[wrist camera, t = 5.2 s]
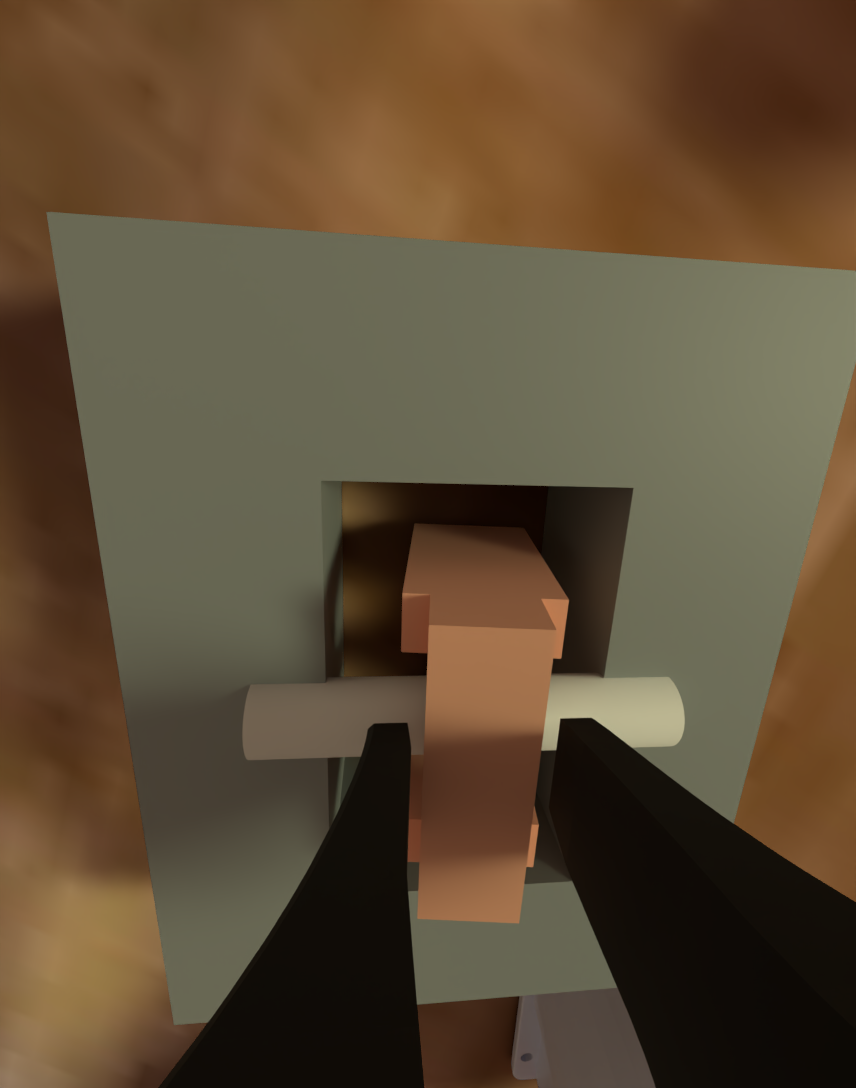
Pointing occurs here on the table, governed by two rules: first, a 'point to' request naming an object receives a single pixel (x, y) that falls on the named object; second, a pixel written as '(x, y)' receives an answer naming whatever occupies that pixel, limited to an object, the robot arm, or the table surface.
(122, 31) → the table surface
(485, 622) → the orange arch block
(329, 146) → the table surface
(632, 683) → the grey panel with window
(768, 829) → the table surface
